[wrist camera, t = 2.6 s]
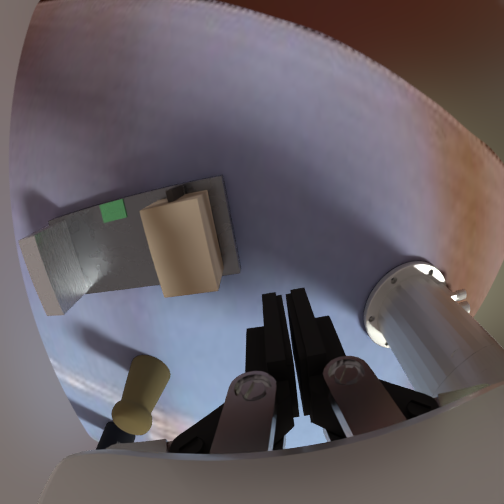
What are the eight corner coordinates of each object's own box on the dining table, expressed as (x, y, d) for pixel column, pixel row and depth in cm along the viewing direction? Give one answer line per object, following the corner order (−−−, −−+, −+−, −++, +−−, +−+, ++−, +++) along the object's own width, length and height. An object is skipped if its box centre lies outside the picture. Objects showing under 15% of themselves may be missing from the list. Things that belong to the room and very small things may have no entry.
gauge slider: (205, 179, 26) (194, 185, 21) (223, 267, 29) (218, 290, 24) (156, 190, 26) (136, 199, 21) (177, 274, 29) (164, 297, 24)
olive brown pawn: (125, 355, 36) (96, 410, 25) (161, 353, 35) (137, 414, 25) (141, 384, 38) (119, 438, 27) (176, 383, 37) (159, 443, 27)
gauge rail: (223, 174, 27) (212, 183, 20) (240, 267, 31) (237, 302, 24) (55, 218, 29) (17, 236, 22) (78, 290, 32) (49, 319, 25)
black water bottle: (109, 433, 44) (70, 544, 16) (103, 418, 42) (57, 538, 14) (137, 442, 45) (104, 558, 16) (133, 427, 42) (94, 555, 14)
